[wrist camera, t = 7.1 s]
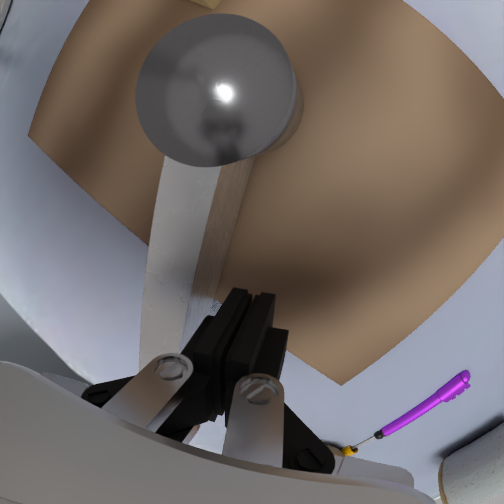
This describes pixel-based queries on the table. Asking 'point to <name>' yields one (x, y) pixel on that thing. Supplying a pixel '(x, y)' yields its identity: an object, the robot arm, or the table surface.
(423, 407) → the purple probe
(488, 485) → the ceramic mug
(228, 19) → the ball-ended lever
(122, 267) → the table surface
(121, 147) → the brown wooden board
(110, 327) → the table surface
